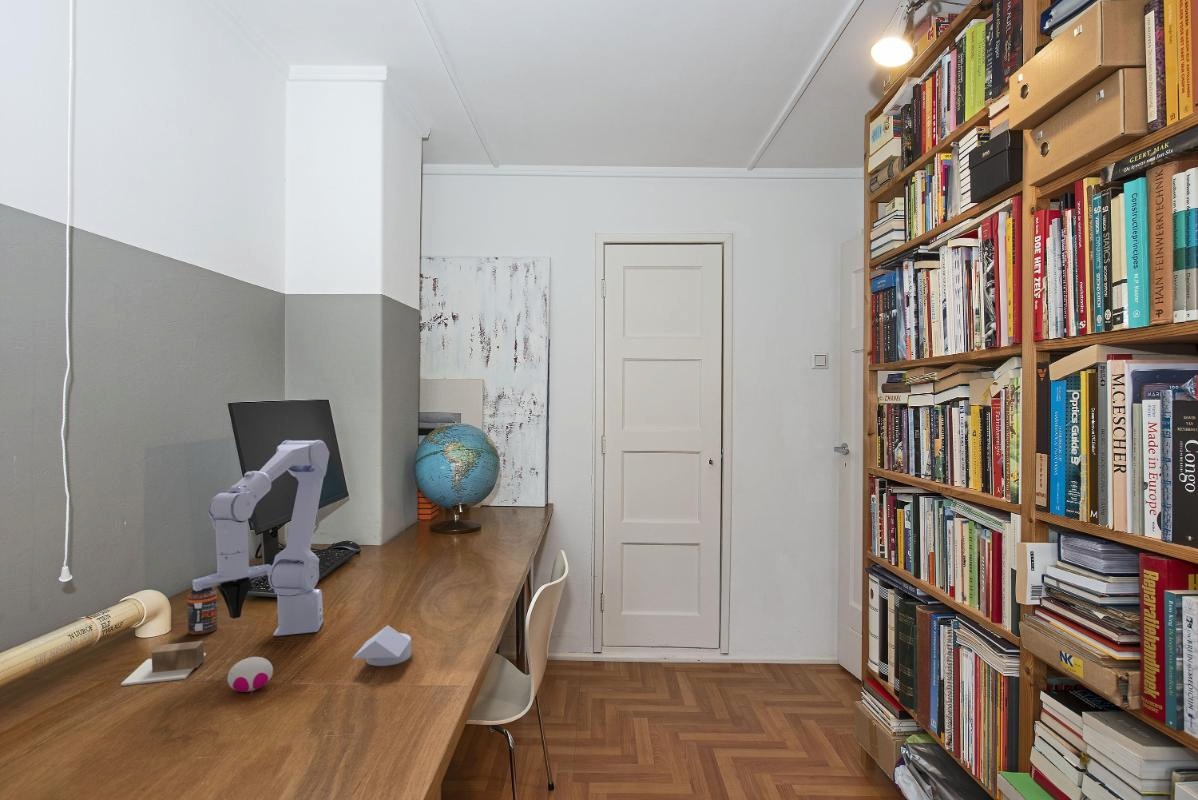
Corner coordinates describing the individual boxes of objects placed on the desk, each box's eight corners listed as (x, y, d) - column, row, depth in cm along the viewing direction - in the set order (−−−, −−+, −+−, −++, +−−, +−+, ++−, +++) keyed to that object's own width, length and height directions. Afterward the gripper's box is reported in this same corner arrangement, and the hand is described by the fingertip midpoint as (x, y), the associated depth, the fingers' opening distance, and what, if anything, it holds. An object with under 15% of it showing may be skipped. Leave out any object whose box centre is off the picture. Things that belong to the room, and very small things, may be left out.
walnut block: (203, 640, 139) (159, 645, 137) (196, 648, 135) (151, 652, 133) (204, 660, 139) (160, 664, 137) (197, 667, 135) (152, 672, 133)
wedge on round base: (399, 674, 131) (416, 647, 144) (398, 639, 131) (415, 616, 144) (352, 675, 131) (373, 649, 144) (351, 641, 131) (372, 618, 144)
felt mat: (206, 654, 143) (206, 653, 142) (185, 678, 131) (185, 676, 131) (147, 660, 140) (147, 659, 140) (120, 685, 128) (120, 683, 128)
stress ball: (229, 715, 123) (225, 694, 119) (229, 677, 128) (225, 655, 125) (275, 704, 126) (273, 683, 122) (273, 667, 132) (271, 646, 128)
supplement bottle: (204, 636, 153) (202, 587, 153) (182, 635, 154) (180, 586, 154) (223, 627, 159) (222, 579, 159) (202, 626, 160) (200, 578, 160)
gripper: (261, 541, 146) (263, 603, 146) (186, 555, 135) (189, 622, 136) (275, 546, 141) (277, 610, 142) (198, 561, 130) (201, 630, 131)
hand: (235, 616), depth 138 cm, fingers closed
